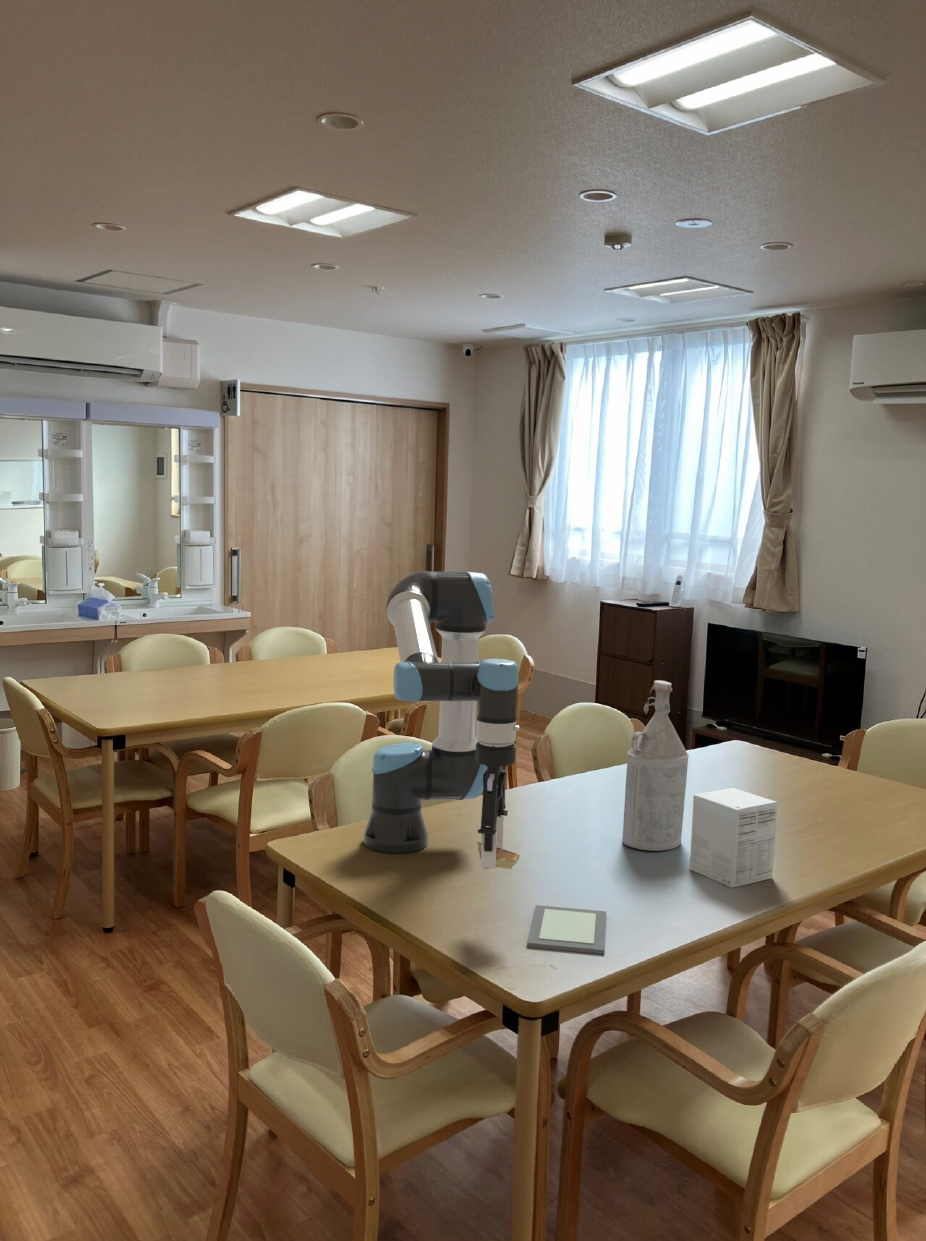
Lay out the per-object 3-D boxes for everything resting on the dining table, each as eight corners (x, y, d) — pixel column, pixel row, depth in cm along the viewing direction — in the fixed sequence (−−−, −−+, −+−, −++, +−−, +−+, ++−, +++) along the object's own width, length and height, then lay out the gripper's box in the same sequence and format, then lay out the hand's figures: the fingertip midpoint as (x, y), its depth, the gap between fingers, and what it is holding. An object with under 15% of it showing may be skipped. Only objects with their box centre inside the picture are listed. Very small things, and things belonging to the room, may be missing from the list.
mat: (527, 946, 184) (527, 941, 184) (535, 908, 202) (535, 904, 202) (604, 954, 182) (604, 948, 182) (606, 915, 200) (606, 910, 200)
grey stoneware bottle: (607, 843, 244) (615, 680, 239) (653, 829, 255) (661, 674, 251) (649, 857, 234) (658, 689, 230) (694, 843, 245) (703, 682, 241)
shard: (477, 849, 198) (477, 840, 198) (516, 849, 199) (516, 840, 198) (480, 869, 188) (480, 859, 187) (521, 869, 188) (521, 860, 188)
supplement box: (774, 878, 223) (779, 801, 221) (732, 889, 216) (737, 809, 214) (729, 860, 234) (733, 786, 232) (687, 869, 227) (692, 793, 225)
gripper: (508, 757, 178) (504, 880, 181) (522, 730, 200) (518, 840, 202) (466, 754, 179) (462, 876, 182) (484, 728, 201) (481, 837, 203)
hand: (491, 857), depth 192 cm, fingers closed on shard, 9 cm apart
